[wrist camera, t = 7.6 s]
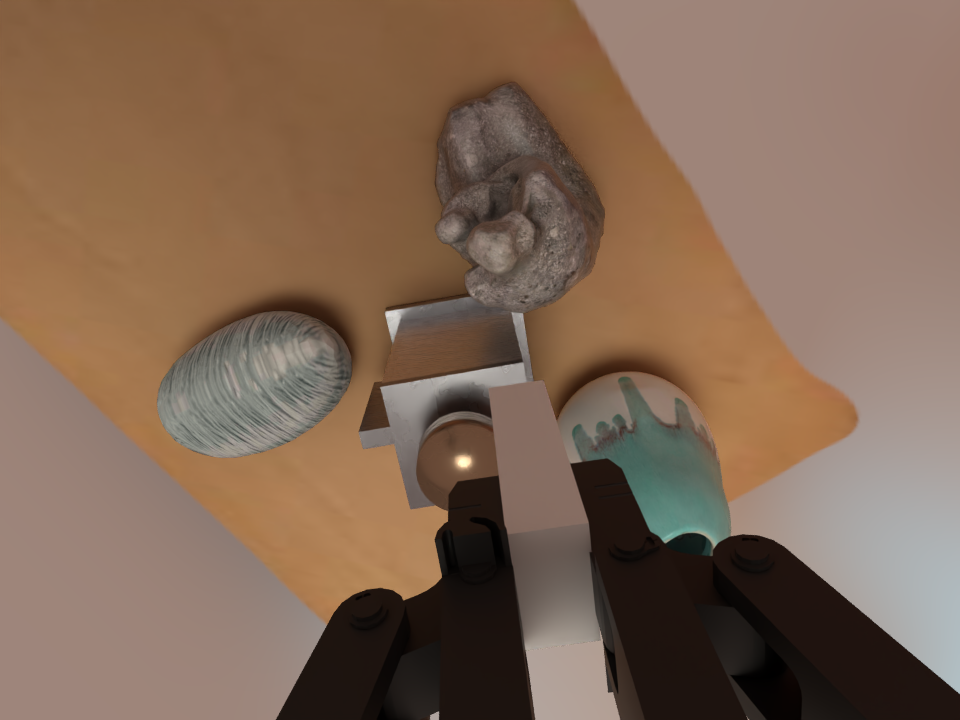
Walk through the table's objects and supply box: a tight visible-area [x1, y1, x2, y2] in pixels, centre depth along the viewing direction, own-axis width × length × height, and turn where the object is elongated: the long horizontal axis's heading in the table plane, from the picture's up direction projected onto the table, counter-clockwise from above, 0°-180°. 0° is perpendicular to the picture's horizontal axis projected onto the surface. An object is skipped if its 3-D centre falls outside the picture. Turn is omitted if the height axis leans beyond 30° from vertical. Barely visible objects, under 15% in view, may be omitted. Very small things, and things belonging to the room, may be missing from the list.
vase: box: [557, 371, 731, 556], centre depth 46 cm, size 12×12×18 cm
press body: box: [359, 294, 533, 509], centre depth 46 cm, size 10×12×14 cm
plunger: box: [416, 411, 499, 511], centre depth 42 cm, size 6×6×13 cm
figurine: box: [435, 82, 605, 313], centre depth 39 cm, size 13×12×18 cm
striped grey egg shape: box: [157, 311, 352, 458], centre depth 48 cm, size 14×10×10 cm
